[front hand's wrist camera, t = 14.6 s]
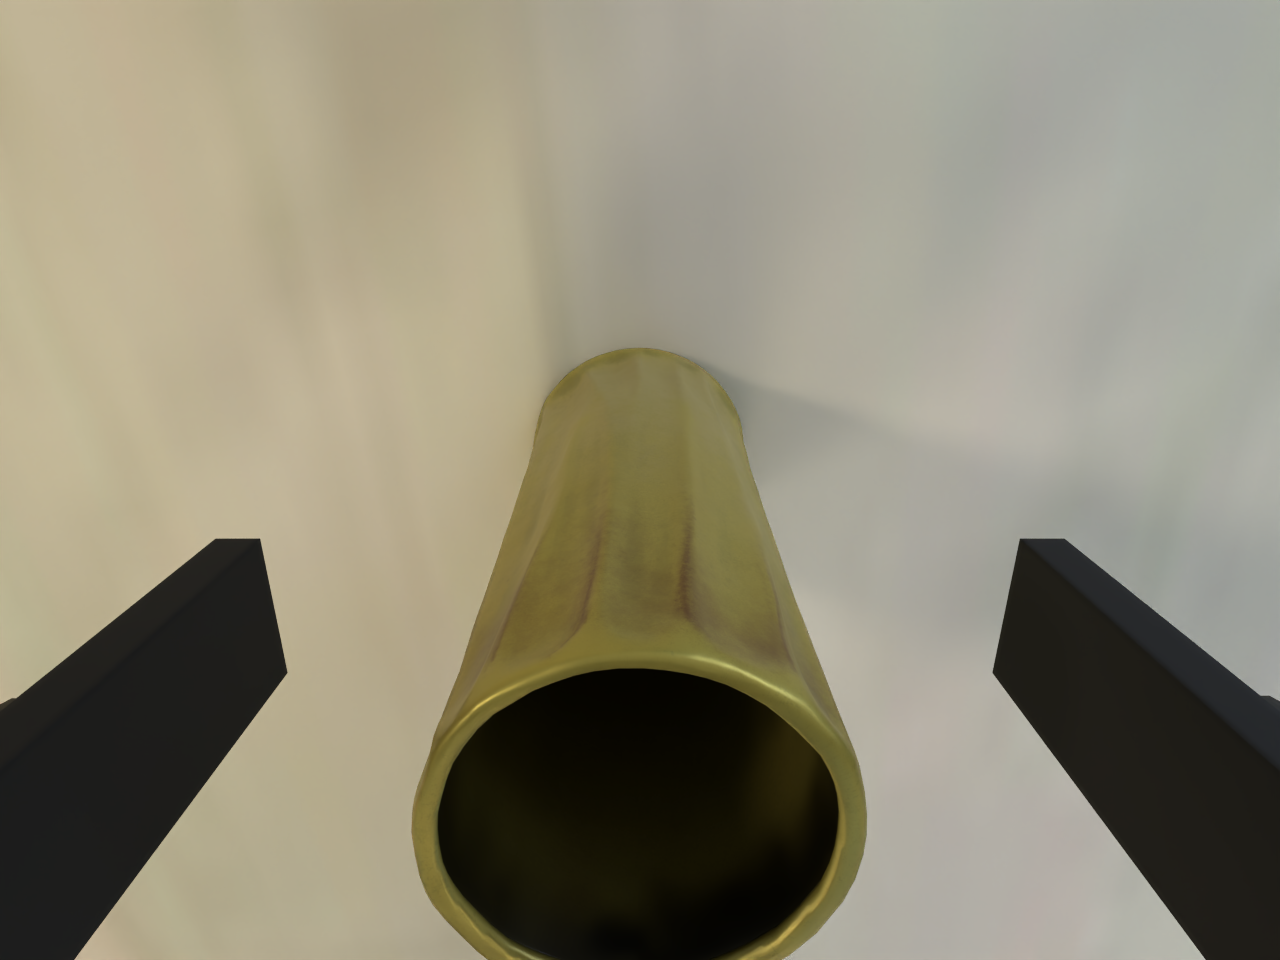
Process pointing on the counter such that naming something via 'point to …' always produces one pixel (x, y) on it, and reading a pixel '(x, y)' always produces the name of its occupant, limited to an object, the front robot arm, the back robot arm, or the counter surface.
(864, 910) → the counter surface
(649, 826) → the olive drinking cup
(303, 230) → the counter surface
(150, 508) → the counter surface
